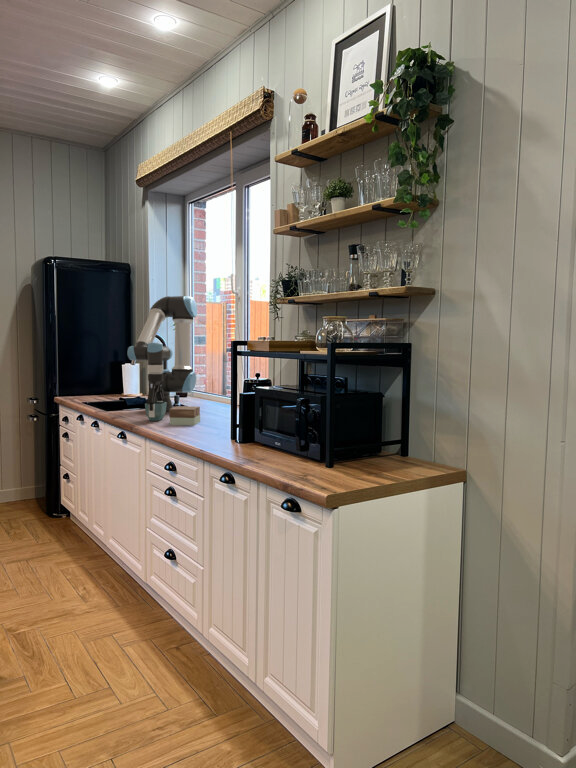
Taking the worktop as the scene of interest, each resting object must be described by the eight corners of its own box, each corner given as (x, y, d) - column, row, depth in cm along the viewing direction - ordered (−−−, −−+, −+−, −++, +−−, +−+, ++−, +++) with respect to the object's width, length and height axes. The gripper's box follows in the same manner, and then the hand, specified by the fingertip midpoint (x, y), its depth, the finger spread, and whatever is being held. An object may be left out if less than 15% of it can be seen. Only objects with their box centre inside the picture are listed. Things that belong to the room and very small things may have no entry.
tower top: (176, 414, 292) (175, 406, 291) (199, 414, 291) (199, 406, 290) (169, 417, 280) (169, 409, 279) (194, 417, 279) (194, 409, 278)
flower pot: (167, 419, 299) (167, 401, 298) (161, 421, 290) (161, 403, 289) (150, 418, 300) (150, 401, 299) (144, 421, 291) (144, 403, 290)
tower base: (176, 422, 292) (176, 414, 292) (200, 422, 291) (200, 414, 291) (169, 425, 280) (169, 417, 280) (194, 426, 279) (194, 417, 279)
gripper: (155, 371, 306) (156, 412, 307) (139, 374, 281) (140, 418, 283) (169, 372, 305) (170, 412, 307) (155, 374, 280) (155, 418, 282)
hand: (156, 415), depth 295 cm, fingers open, 13 cm apart
